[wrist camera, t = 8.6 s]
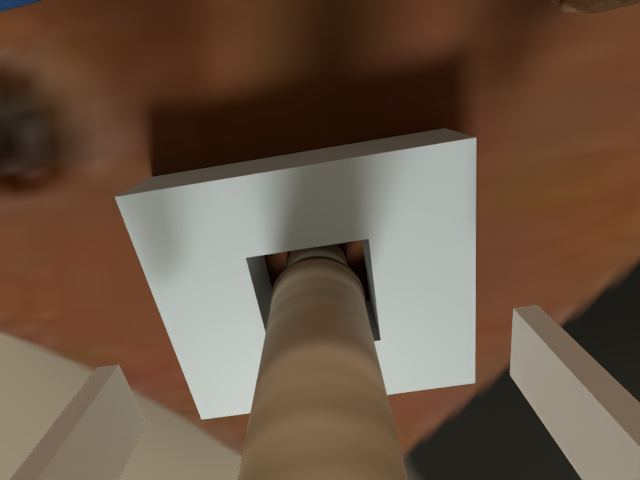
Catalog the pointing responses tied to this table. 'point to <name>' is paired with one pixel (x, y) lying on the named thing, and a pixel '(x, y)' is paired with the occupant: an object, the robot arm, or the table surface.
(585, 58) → the table surface
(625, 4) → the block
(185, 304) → the board
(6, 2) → the cell phone
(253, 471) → the peg
